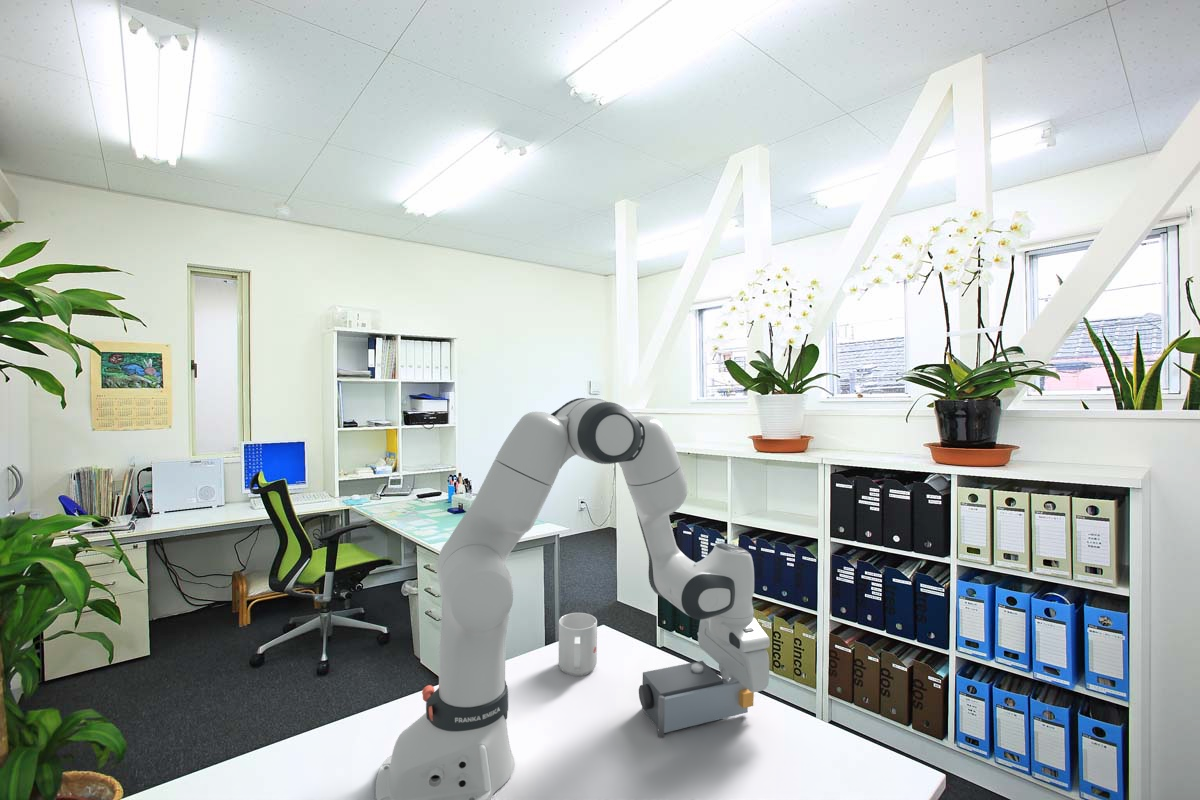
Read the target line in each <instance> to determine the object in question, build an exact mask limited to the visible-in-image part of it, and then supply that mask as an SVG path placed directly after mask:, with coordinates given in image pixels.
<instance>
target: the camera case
mask: <svg viewBox="0 0 1200 800" xmlns="http://www.w3.org/2000/svg"><path fill="white" fill-rule="evenodd" d="M721 684H723V679H722V676H721V675H718V674H717V672H715V671H714V670H713V669H712V668H711V667H710V666H709V665H708V664H707V663H706V662H704V661H703V660H699V661H694V662H690V663H689V662H688V663H684V664H679V665H674V666H669V667H663V668H658V669H655V670H647V671H643V672H642V684H640V685H639V687H638V698H639V702H640V705H641V707H642V710H643V711H644V712H645V714H646V715H647V717H648V718H649V719H650V721H651V722H652V723H653V725H654V726H655V728H656V729H657V730H658V697H659V696H664V697H666V696H671V695H676V694H680V693H685V692H689V691H694V690H698V689H703V688H708V687H712V686H717V685H721Z"/></svg>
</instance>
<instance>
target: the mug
mask: <svg viewBox="0 0 1200 800" xmlns="http://www.w3.org/2000/svg"><path fill="white" fill-rule="evenodd" d="M597 640H598V620H597V617H595V616H594V615H592V614H590V613H585V612H572V613H571V612H570V613H568V614H564V615H562V616H561V617H560V618H559V620H558V667H559V669H560V670H562V671H563V673H565V674H567V675H569V676H573V677H581V676H586V675H588V674H590V673H591V672H592V671H593V670H594V669H595V668H596V665H597V664H598V663H597V659H598V658H597V655H598V653H597V651H598V647H597V646H598V641H597Z"/></svg>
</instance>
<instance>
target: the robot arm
mask: <svg viewBox="0 0 1200 800" xmlns="http://www.w3.org/2000/svg"><path fill="white" fill-rule="evenodd" d="M575 456H578V457H580V458H581V459H585V460H587V461H591V462H594V463H597V464H601V465H610V464H611V465H612V464H616V463H618V465H619V466H620V468H621V471H622V474H623V477H624V480H625V484H626V486H627V489H628V491H629V494H630V496H631V499H632V501H633V503H634V508H635V510H636V515H637V519H638V523H639V527H640V529H641V533H642V537H643V540H644V543H645V547H646V551H647V555H648V582H649V585H650V588H651V589H652V590H653V592H654V593H655V594H656V595H657V596H659V597H661V598H663V599H665V600H666V601H668V602H669V603H671V604H672V605H673V606H674V607H675V608H676V609H678V610H680V611H681V612H682V613H683V614H685V615H687V616H688V617H690V618H692V619H694V620H699V624H698V625H699V626H698V635H697V643H698V646H699V648H700V649H701V650H702V651H703V652H704V653H706V655H708V656H709V657H710V658H711V659H712V660H713V661H715V662H716V663H717V664H718V670H719V672H720V677H721V678H722V679H723V684H726V683H731V682H735V681H739V682H740V683H741V684H742V685H743V686H745V687H746V688H747V689H748V690H749V691H750V692H754V693H757V692H762V691H764V690H766V689H767V688H768V686H769V683H770V657H769V653H768V650H767V648H770V645H771V641H770V640H771V639H770V637H769V636H768V635H767V633H766V632H765V630H763V628H762V627H761V625H760V624H759V622H758V621H757V618H755V617H754V615H755V613H754V612H755V611H754V606H753V596H754V594H755V567H754V561H753V557H752V554H751V553H750V552H749V551H748V550H746V548H745V549H744V548H743V547H740V546H738V545H735V544H734V545H733V544H730V543H722V542H720V543H716V544H714V546H713V549H712V550H711V551H710V552H709V553H708V554H707V555H706V556H705V557H704V558H702V559H701V560H699V561H697V562H696V561H694V560H692V559H690V558H689V557H688V556H687V555H685V553H683V552H682V550H680V548H679V547H678V545H677V542H676V538H675V536H674V535H675V534H674V531H673V527H672V523H671V520H670V519H671V518H670V515H671V514H672V513H673V514H674V512H676V511H677V510H679V509H680V508H681V507H682V506H683V504H684V502H685V500H686V498H687V496H688V484H687V478H686V474H685V471H684V469H683V466H682V463H681V460H680V457H679V455H678V452H677V450H676V448H675V445H674V443H673V441H672V440H671V438H670V435H669V433H668V432H667V430H666V428H665V426H664V425H663V423H662V422H661V420H659V419H657V418H656V417H654V416H651V415H650V416H649V415H640V416H634V415H633V414H632V413H631V412H630V411H629V410H628V409H627V408H625V407H624V406H622V405H620V404H618V403H615V402H611V401H607V400H603V399H601V398H593V397H591V398H588V397H587V398H586V397H585V398H584V397H580V398H579V397H578V398H574V399H572V400H570V401H568V402H566V403H565V404H563V405H562V406H561V407H558V409H556V410H555V411H553V412H551V413H548V412H543V411H532V412H527V413H526V414H524V415H523V416H522V417H521V418H519V421H518V422H517V423H516V424H515V426H514V427H513V428H512V430H511V431H510V433H509V434H508V436H507V437H506V439H505V440H504V442H503V443H502V445H501V446H500V449H499V451H498V452H497V454H496V456H495V459H494V460H493V463H492V465H491V467H490V468H489V470H488V472H487V474H486V476H485V478H484V480H483V482H482V484H481V486H480V487H479V490H478V492H477V494H476V496H475V498H474V500H473V502H472V503H471V505H470V507H469V508H468V509H467V511H466V512H465V514H464V515H463V516H462V518H461V520H460V521H459V522H458V524H457V525H456V527H455V528H454V529H453V531H452V533H451V535H450V536H449V538H448V539H447V541H446V542H445V543H444V544H443V546H442V547H441V550H440V552H439V554H438V558H437V562H436V566H435V567H436V575H437V579H438V585H439V590H440V598H441V599H440V600H441V620H440V621H441V622H440V623H441V625H440V636H439V637H440V638H439V644H438V688H437V689H436V690H435V688H434V687H433V685H430V684H429V685H426V686H424V687H423V689H422V690H421V693H422V700H423V701H424V702H425V713H424V714H423V715H421V716H420V717H419V718H417V719H416V720H415V721H414V722H412V723H411V724H410V725H409V726H408V727H407V728H405V729H403V731H402V732H401V733H400V734H399V735H398V737H397V740H396V741H395V745H394V746H393V749H392V750H393V751H392V755H389V756H388V757H387V758H386V759H385V760H384V761H383V763H382V764H381V766H380V768H379V770H378V772H377V776H376V779H375V780H376V781H375V789H374V790H375V791H374V793H375V794H374V797H375V799H374V800H491V798H492V797H493V796H494V793H496V792H498V790H499V789H500V788H502V787H503V786H504V785H505V784H506V783H507V782H508V780H509V779H510V778H511V776H512V774H513V772H514V770H515V758H514V755H513V752H512V749H511V744H510V739H509V733H508V726H507V725H508V724H507V719H508V712H509V689H508V685H507V682H506V642H507V641H506V640H507V633H508V627H509V622H510V615H511V608H512V606H513V604H514V603H513V602H514V587H513V585H514V584H513V578H512V576H511V572H510V570H509V569H508V567H507V566H506V562H507V560H508V558H509V555H510V554H511V553H512V551H513V549H514V548H515V547H516V545H517V544H518V543H519V541H520V540H521V539H522V538H523V536H524V535H525V534H526V533H527V532H529V531H530V530H531V529H532V528H533V527H534V526H535V523H536V521H537V519H538V517H539V515H540V513H541V510H542V509H543V506H544V504H545V502H546V500H547V498H548V497H549V494H550V491H551V490H552V488H553V485H554V483H555V481H556V479H557V476H558V475H559V472H560V470H561V469H562V467H563V466H564V465H565V463H567V461H568V460H569V459H572V457H575Z"/></svg>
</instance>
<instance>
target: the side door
mask: <svg viewBox="0 0 1200 800" xmlns="http://www.w3.org/2000/svg"><path fill="white" fill-rule="evenodd" d="M754 693H755V692H750V691H749V690H748V689H747V688H746V687H745V686H743V685H742V684H741V683H740V682H739V681H735V682H731V683H726V684H721V685H717V686H712V687H708V688H703V689H698V690H694V691H689V692H685V693H680V694H676V695H671V696H666V697H664V696H659V697H658V729H657V737H658V738H661V739H662V738H664V737H665V733H670V732H673V731H679V730H681V729H685V728H689V727H694V726H697V725H702V724H706V723H710V722H714V721H718V720H722V719H726V718H730V717H733V716H734V717H735V716H739V715H743V714H746V713H748V710H749V708H750V707H754V696H755V695H754Z"/></svg>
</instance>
